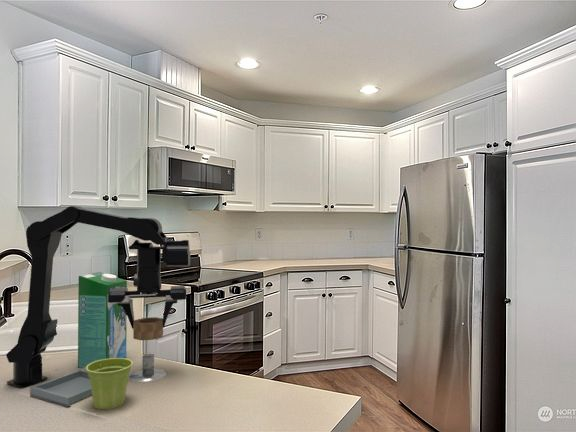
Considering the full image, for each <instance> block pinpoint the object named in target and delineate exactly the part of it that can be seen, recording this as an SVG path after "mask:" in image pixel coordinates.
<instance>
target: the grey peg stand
mask: <svg viewBox="0 0 576 432" xmlns="http://www.w3.org/2000/svg"><path fill="white" fill-rule="evenodd" d="M166 376H167V371H166V370H164V369H161V368H160V369H159V368H155V354H154V353H144V354H142V369H141V370H138V371H135V372H133V373H132V374H130V376H128V379H130V380H131V381H132V382H133V381H134V382H138V383H147V382H153V381H154V382H155V381H158V380H160V379H162V378H165V377H166Z"/></svg>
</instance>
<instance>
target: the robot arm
mask: <svg viewBox="0 0 576 432" xmlns="http://www.w3.org/2000/svg"><path fill="white" fill-rule="evenodd" d="M77 224H84V225H89V226H95V227H98V228H105V229H109V230H114V231H119V232H122V233H124V234H126V235H129V236H130V237H131V236H132V237H134V238H135V240H134V241H133V243H132V244H131V245H129V247H128V249H129V250H136V251H137V253H136V256H137V257H136V263H137V264H136V266H137V267H136V273H135V274H133V283H132V284H133V287H135V288H136V290H129V289H128V287H127V288H113V289H112V290H111V291H110V292H109V293H108V302H109V303H115V302H119V303H118V306H122V307H123V309H124V311H125V313H126V314H127V319H128V321H129V325H130V327H131V329H132V330H133V323H134V321H135V313H134V300H133V299H143V298H165V301H164V309H163V310H164V311H163V317H162V319H163V328H165V325H166V323H167V319H168V317H169V313H170V311H171V308H172V307H173V305H174V304H177V303H178V301H181V300H187V287H186V286H185V285H172V286H171V285H170V289H162V278H161V272H162V271H161V267H162V266H161V263H164V264H165V265H166V267H190V265H191V251H190V240H189V239H182V240H170V239H169V238H168V237H167V236H166V234H165V233H164V232H163V227H162V223H161V222H160V221H159V220H158V219H156V218H153V217H129V216H128V217H127V216H121V215H118V214H113V213H108V212H102V211H97V210H91V209H87V208H83V207H81V206H78V205H77V206H76V205H70V206H68V207H65V209H62V211H60V212H57V213H56V214H54V215H51V216H49V217H47V218H46V219H45V218H44V220H41V221H40V220H39V221H34V222H32V223H30V225H28V226H27V228H26V230H25V237H26V245H27V248H28V251H29V254H30V255H31V256H30V257H31V263H30V265H31V266H30V279H29V290H28V291H29V292H28V302H27V303H28V304H27V306H28V307H27V316H26V317H25V320H24V321H23V324H22V326H21V327H20V331H19V335H18V339H17V344H15V346H14V347H13V348H12V349H10V350H9V351H8V352H7V353H6V355H5V356H6V360H7V361H8V363H9V364H10V363H12V364H13V372H12V374H13V375H12V376H13V378H12V379H11V380H7V381H6V384H7V385H10V386H13V387H17V388H21V389H25V388H27V387H31V386H33V385H35V384H36V385H37V384H40V383H42V382H44V381H48V378H49V377H48V376H44V375H43V361H42V360H43V356H42V353H44V352H45V351H46V350H47V347H48V346H49V345H50V344H51V343H52V342H53V341H54V338H55V336H57V335H58V332H57V325H58V319H52V317H51V315H50V306H51V305H50V304H51V292H52V290H51V289H52V279H53V278H52V277H53V265H54V263H53V262H54V256H55V255H56V252H57V250H58V248H59V246H60V244H61V243H60V242H61V239H62V235H63V234H65V233H66V232H68V231H69V230H70V229H72V228H73V227H74V226H75V225H77ZM139 239H140V240H142V241H145V242H140V240H139ZM146 241H147V242H146ZM148 241H150V242H148ZM154 244H155V246H154ZM157 245H159V246H157ZM160 245H163V246H160ZM161 261H162V262H161Z"/></svg>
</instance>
